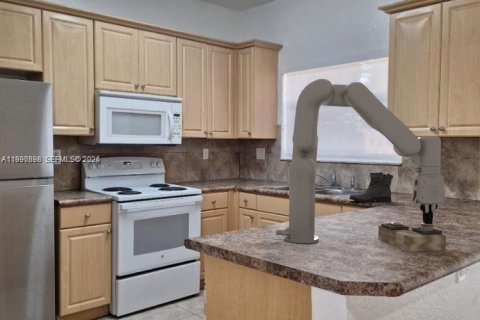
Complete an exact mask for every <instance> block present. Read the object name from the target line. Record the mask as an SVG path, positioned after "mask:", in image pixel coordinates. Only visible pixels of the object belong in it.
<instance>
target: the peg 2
mask: <svg viewBox="0 0 480 320" xmlns="http://www.w3.org/2000/svg"><path fill="white" fill-rule="evenodd" d="M420 227H421V230H424V231H433V228H434V223H433V224H426V223H423V221H422V222H420Z"/></svg>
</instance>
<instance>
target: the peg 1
mask: <svg viewBox="0 0 480 320" xmlns="http://www.w3.org/2000/svg"><path fill="white" fill-rule="evenodd" d="M388 223H389V226H392V227H393V226H401V222H396V221H390V222H388Z"/></svg>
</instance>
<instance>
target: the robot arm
mask: <svg viewBox="0 0 480 320" xmlns="http://www.w3.org/2000/svg"><path fill="white" fill-rule="evenodd" d="M321 106H327V107H341V108H343V107H344V108H352V109H353V110H354V111H355V113H357V114H358V115H359V116H360V117H361V119H362V120H363V121H364V122H365V123H366V124H367V125H368V126H369V127H370V128H371V129H373V130H375V131H376V132H379V133H380V135H382V136H384V138H386V139H387V140H388V141H389V142H390V143H391V144H392V147H393V148H392V149H393V150H394V152H395V154H396V155H398V156H400V157H402V158H403V157H404V158H413V157H415V156H416V168H414V169H413V170H414V171H413V172H415V173H416V174H415V176H414V180H413V185H412V186H413V187H412V201H413V204H412V205H413V207H416V208H419V209H420V211H421V212H422V222H423V223H426V224H433V225H434V222H433V221H434V213H435V212H436V209H438V208H441V207H443V204H444V203H445V201H446V189H445V188H446V187H445V181H444V177H443V175H441V158H442V157H441V152H442V151H441V149H442V148H441V147H442V144H441V143H442V140H441V138H440V137H439V136H437V135H435V136H434V135H430V136H429V135H425V136H423V135H422V136H420V137H419V136H416V134H415V133H414V132H413V131H412V130H411V129H410V128H409V127H408V126H407V125H406V124H405V123H404V122H403V121H402V120H401V119H399V118H398V117H397V115H395V114H394V113H393V112H392V111H390V109H389V108H388V107H386V105H384V103H383V102H382V101H380V100H379V99H378V98H377V96H376V95H375V94H374V93H373V92H372V91H371V90H370V89H369V88H368V87H367V86H366V85H365V84H364V83H362V82H361V81H352V82H349V83H348V84H337V83H336V84H335V83H333V82H332V81H331V80H329V79H328V78H327V79H326V78H318V79H315V80H314V81H311V82H310V83H308V84H307V85H306V86H305V87H304V88H303V89H302V90H301V92H300V94H299V96H298V98H297V101H296V104H295V115H294V123H293V133H292V138H291V139H292V155H291V156H292V157H291V161H290V163H289V167H288V181H289V183H288V187H289V188H288V203H289V204H288V205H289V206H288V226H286V228H284V229H276V230H275V234H276V236H284V240H285V241H286V242H289V243H294V244H314V243H318V242H319V237H318V235H315V230H316V229H315V227H316V226H315V225H316V224H315V222H316V172H317V159H318V158H317V157H318V145H319V135H318V126H319V125H318V124H319V113H320V107H321Z"/></svg>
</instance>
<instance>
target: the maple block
mask: <svg viewBox="0 0 480 320" xmlns="http://www.w3.org/2000/svg"><path fill="white" fill-rule="evenodd" d="M377 231H378V232H377V233H378V235H377V239H378V240H380V241H383V242H385V243H386V244H387V243H388V244H390V245H392V246H395V247H396V248H399V249H402V250H403V251H406V252H409V253H410V252H429V251H430V252H431V251H436V252H437V251H446V250H447V249H446V247H447V236H446V235H445V234H443V230H440V229H437V228H434V227H433V231H424V230H421V226H416V225H414V224H413V225H412V224H401V226H393V227H392V226H389V222H388V223H380V225H378V230H377Z"/></svg>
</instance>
